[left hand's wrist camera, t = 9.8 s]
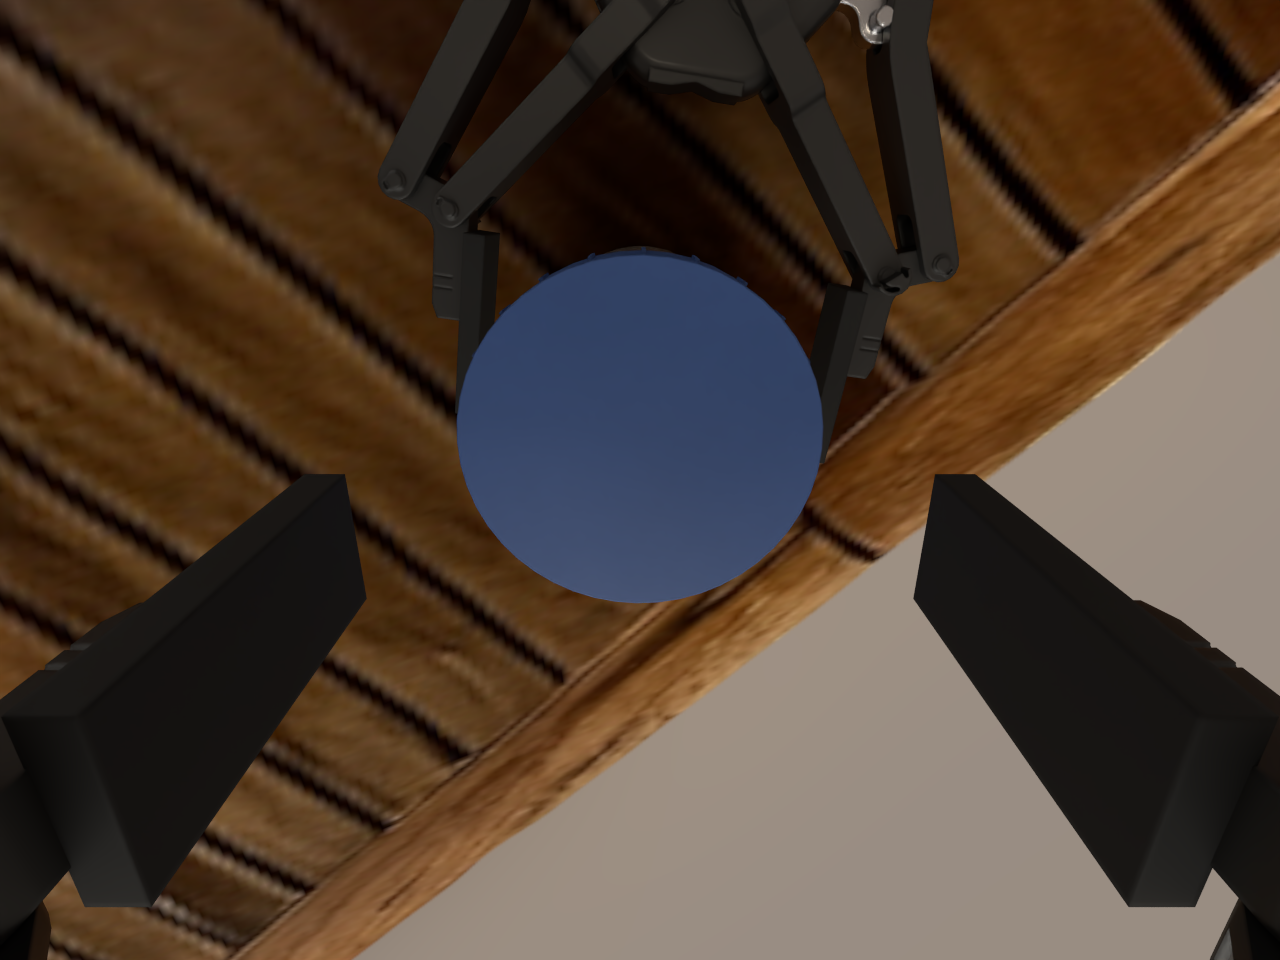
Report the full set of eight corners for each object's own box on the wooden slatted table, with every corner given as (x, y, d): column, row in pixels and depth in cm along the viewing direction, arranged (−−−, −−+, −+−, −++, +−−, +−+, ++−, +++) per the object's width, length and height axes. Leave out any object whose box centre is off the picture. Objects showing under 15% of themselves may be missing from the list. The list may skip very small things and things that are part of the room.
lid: (455, 242, 18) (437, 246, 16) (830, 250, 18) (850, 255, 16) (481, 571, 22) (468, 601, 20) (792, 576, 22) (804, 607, 20)
